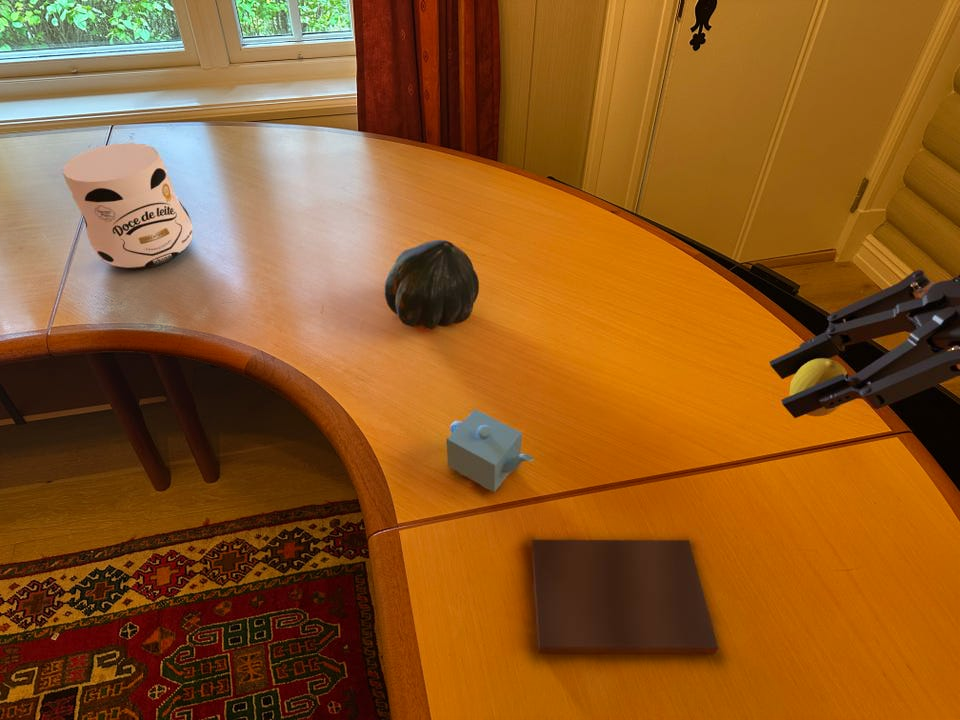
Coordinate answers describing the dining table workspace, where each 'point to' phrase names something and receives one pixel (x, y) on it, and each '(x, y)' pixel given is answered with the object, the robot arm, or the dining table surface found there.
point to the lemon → (816, 378)
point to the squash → (432, 285)
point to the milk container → (128, 205)
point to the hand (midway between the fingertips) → (782, 389)
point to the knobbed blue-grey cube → (484, 449)
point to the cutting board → (619, 597)
